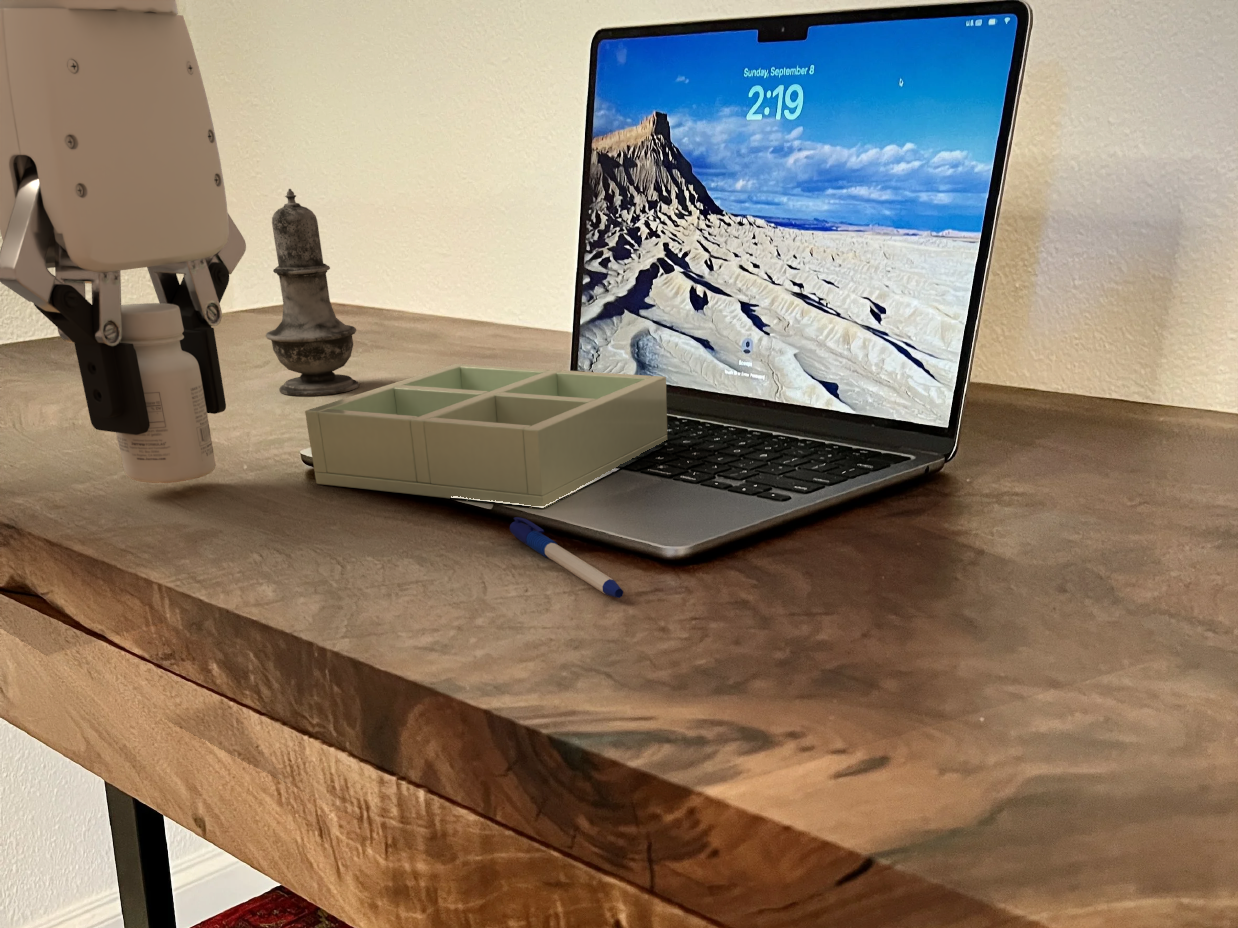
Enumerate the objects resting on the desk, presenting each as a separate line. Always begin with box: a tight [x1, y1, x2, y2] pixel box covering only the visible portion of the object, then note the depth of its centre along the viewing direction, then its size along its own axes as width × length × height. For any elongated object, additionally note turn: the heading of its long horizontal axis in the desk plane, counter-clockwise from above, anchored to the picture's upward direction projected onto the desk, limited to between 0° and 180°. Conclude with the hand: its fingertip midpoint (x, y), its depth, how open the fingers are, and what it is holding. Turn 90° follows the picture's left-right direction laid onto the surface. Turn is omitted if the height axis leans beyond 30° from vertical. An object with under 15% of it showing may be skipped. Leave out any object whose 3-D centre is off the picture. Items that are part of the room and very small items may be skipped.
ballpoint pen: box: [509, 516, 624, 599], centre depth 55 cm, size 10×1×1 cm, turn 29°
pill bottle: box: [115, 302, 217, 484], centre depth 65 cm, size 4×4×8 cm
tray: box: [304, 363, 669, 506], centre depth 69 cm, size 13×13×4 cm
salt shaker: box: [265, 188, 360, 397], centre depth 87 cm, size 6×6×12 cm
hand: (160, 416), depth 66 cm, fingers closed on pill bottle, 4 cm apart
